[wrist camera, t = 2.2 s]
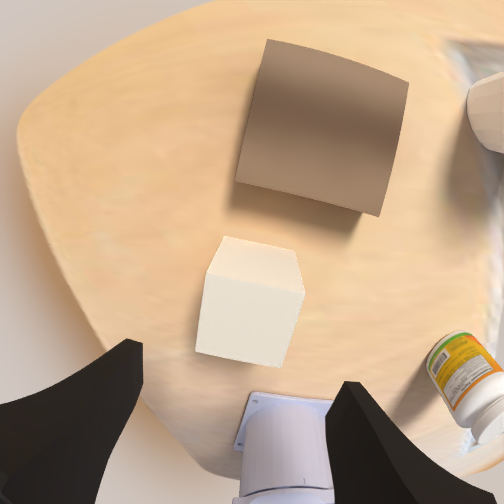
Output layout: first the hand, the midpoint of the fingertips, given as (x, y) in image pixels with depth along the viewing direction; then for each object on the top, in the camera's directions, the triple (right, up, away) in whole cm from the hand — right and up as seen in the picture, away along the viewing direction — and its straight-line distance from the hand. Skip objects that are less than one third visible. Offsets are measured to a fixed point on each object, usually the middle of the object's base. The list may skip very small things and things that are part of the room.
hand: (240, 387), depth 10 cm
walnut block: (+4, +12, +7) cm, 15 cm away
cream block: (0, +3, +10) cm, 10 cm away
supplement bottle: (+18, -4, +12) cm, 22 cm away
